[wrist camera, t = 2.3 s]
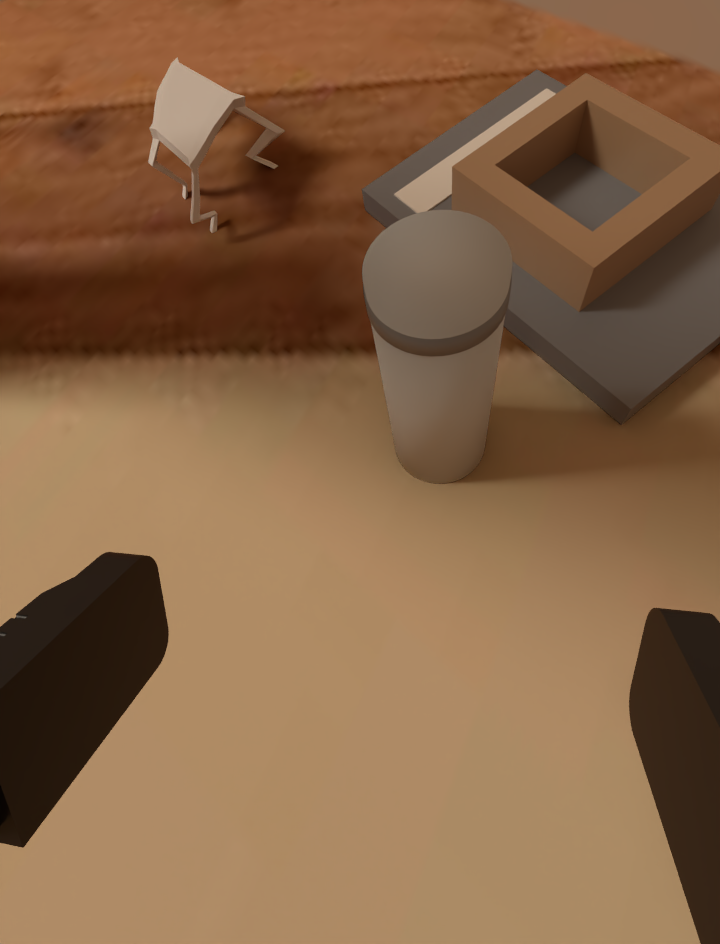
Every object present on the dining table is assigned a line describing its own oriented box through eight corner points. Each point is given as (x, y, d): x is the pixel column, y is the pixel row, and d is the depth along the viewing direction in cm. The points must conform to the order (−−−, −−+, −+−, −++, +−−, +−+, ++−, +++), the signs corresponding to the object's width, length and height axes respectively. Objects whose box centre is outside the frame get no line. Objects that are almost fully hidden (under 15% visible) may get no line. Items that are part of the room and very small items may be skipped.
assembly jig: (365, 210, 34) (354, 142, 30) (533, 93, 36) (544, 14, 32) (621, 424, 26) (654, 372, 22) (818, 261, 28) (882, 185, 24)
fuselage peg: (375, 438, 28) (331, 265, 17) (443, 386, 28) (443, 186, 17) (434, 502, 26) (427, 355, 15) (505, 445, 27) (548, 264, 16)
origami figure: (314, 190, 35) (295, 116, 31) (198, 251, 35) (162, 183, 30) (241, 97, 40) (216, 20, 36) (138, 148, 40) (99, 76, 35)
